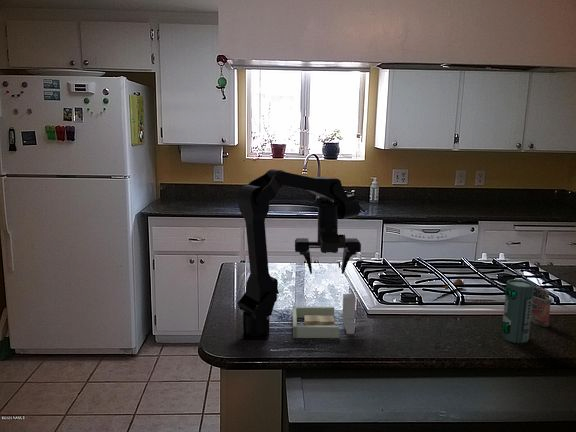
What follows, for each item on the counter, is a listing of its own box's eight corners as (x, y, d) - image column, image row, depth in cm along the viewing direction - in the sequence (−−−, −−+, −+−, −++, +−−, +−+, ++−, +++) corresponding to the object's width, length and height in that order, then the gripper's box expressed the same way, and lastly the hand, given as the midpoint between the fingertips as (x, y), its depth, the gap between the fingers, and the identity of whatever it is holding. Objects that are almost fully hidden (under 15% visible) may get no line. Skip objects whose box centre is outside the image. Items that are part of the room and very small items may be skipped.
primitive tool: (431, 302, 148) (431, 292, 147) (416, 297, 152) (417, 287, 152) (465, 290, 160) (466, 280, 159) (451, 285, 164) (451, 276, 163)
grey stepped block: (344, 333, 125) (345, 302, 123) (341, 320, 134) (341, 290, 132) (356, 333, 125) (357, 302, 123) (351, 320, 134) (352, 290, 132)
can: (505, 330, 127) (510, 277, 124) (530, 337, 123) (536, 282, 120) (499, 338, 122) (504, 283, 120) (524, 345, 119) (530, 288, 116)
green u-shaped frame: (293, 337, 123) (293, 327, 122) (292, 316, 136) (292, 306, 136) (339, 337, 123) (339, 327, 122) (333, 316, 136) (334, 306, 136)
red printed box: (518, 316, 137) (522, 283, 135) (527, 314, 138) (530, 282, 136) (543, 327, 129) (547, 292, 127) (551, 325, 131) (555, 291, 129)
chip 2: (319, 330, 128) (319, 321, 127) (318, 324, 132) (318, 315, 131) (334, 330, 128) (334, 321, 127) (333, 324, 132) (333, 315, 131)
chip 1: (304, 329, 128) (305, 321, 128) (304, 323, 132) (304, 315, 131) (319, 329, 128) (319, 321, 128) (318, 323, 132) (318, 315, 131)
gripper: (295, 227, 126) (295, 282, 129) (365, 227, 126) (363, 282, 129) (294, 219, 137) (294, 270, 140) (358, 219, 137) (357, 270, 140)
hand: (326, 273), depth 137 cm, fingers open, 9 cm apart
